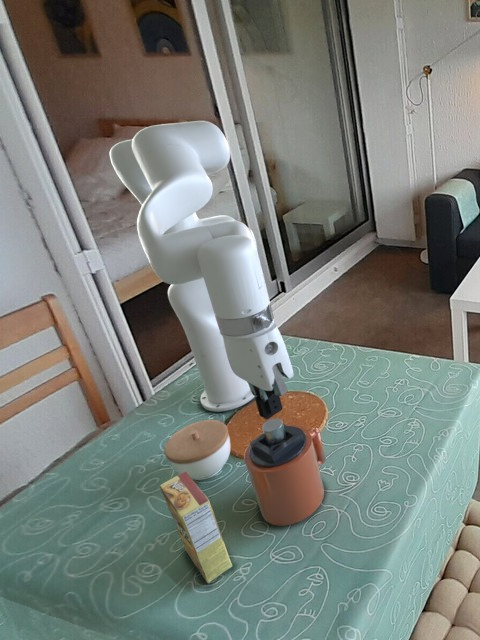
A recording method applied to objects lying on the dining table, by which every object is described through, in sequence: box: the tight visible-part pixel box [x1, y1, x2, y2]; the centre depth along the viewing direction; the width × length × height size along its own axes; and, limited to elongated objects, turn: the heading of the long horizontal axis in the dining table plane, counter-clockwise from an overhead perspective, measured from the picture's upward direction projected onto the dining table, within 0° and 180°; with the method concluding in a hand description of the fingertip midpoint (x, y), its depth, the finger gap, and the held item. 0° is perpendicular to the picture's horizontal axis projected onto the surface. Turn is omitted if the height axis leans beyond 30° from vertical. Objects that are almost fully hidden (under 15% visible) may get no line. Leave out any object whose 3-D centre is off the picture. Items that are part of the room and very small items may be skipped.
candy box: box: [159, 471, 233, 584], centre depth 79 cm, size 9×4×15 cm, turn 50°
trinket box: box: [163, 419, 232, 481], centre depth 97 cm, size 11×11×9 cm
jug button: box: [262, 418, 286, 445], centre depth 85 cm, size 3×3×3 cm
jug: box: [243, 423, 327, 527], centre depth 90 cm, size 11×14×15 cm
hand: (271, 412), depth 83 cm, fingers closed
